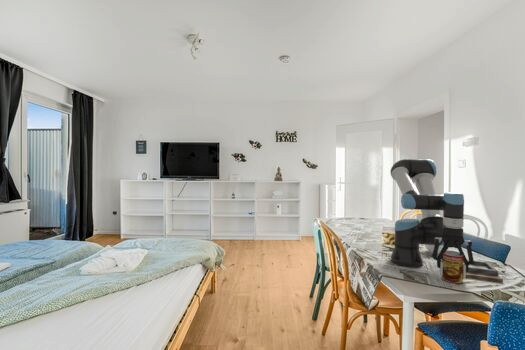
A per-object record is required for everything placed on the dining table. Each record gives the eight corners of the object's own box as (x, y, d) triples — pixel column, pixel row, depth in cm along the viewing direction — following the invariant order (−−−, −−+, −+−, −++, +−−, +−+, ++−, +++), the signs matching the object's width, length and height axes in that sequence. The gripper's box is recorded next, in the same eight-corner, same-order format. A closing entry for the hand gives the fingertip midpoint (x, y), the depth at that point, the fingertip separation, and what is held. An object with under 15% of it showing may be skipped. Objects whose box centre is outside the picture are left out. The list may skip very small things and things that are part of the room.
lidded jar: (442, 256, 152) (442, 240, 152) (421, 252, 160) (421, 237, 160) (447, 252, 159) (447, 237, 159) (427, 248, 167) (427, 234, 167)
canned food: (439, 279, 119) (440, 253, 119) (443, 274, 124) (444, 249, 124) (461, 284, 113) (461, 257, 113) (464, 279, 119) (464, 253, 118)
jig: (453, 275, 124) (454, 268, 124) (445, 263, 140) (445, 257, 140) (502, 282, 116) (503, 274, 116) (488, 268, 133) (488, 261, 133)
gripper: (427, 226, 119) (426, 275, 120) (484, 230, 110) (483, 284, 111) (425, 223, 126) (424, 270, 127) (478, 227, 117) (477, 277, 118)
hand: (452, 276), depth 119 cm, fingers closed on canned food, 8 cm apart
